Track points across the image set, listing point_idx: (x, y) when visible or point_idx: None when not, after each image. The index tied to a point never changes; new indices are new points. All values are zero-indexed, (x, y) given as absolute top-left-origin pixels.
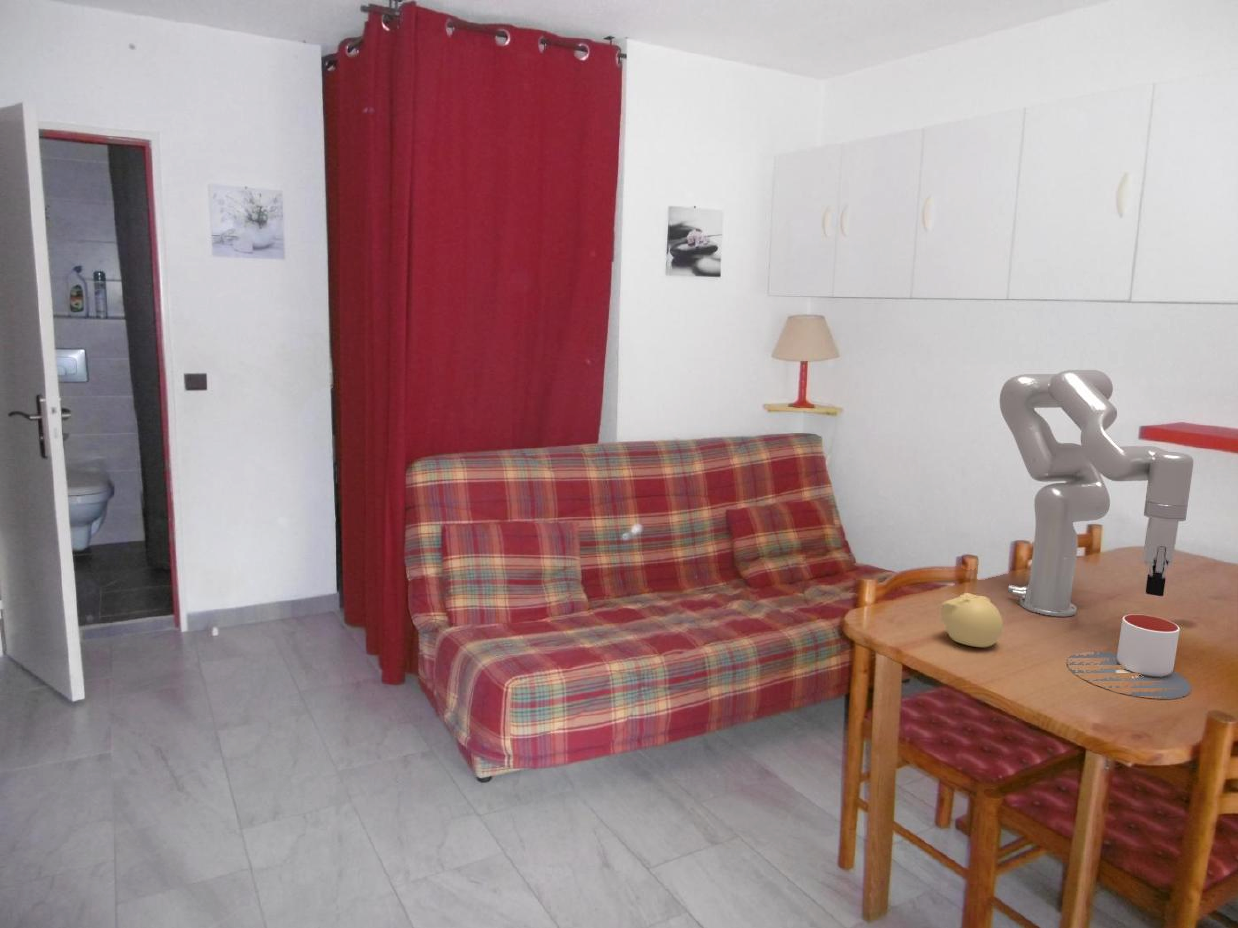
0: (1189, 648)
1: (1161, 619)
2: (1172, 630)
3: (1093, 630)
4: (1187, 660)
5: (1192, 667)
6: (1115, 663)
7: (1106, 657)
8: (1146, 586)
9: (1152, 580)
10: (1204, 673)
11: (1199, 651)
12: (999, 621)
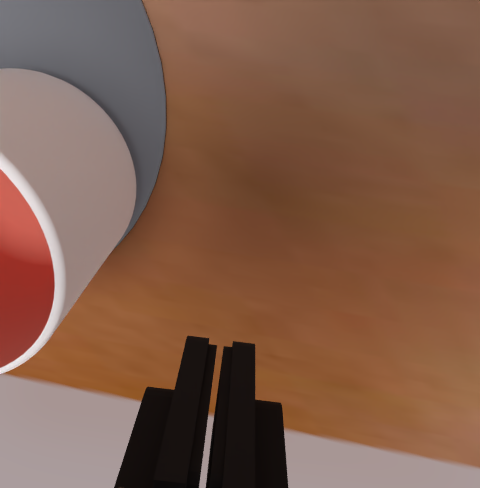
0: (367, 357)
1: (46, 325)
2: (17, 343)
3: (468, 11)
4: (235, 328)
5: (172, 329)
6: (30, 63)
7: (84, 31)
8: (194, 374)
9: (119, 475)
10: (135, 350)
11: (348, 378)
12: None
